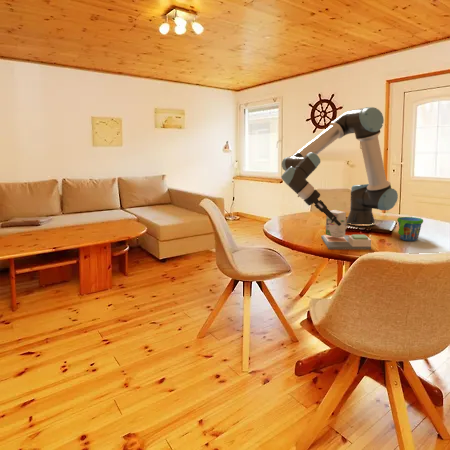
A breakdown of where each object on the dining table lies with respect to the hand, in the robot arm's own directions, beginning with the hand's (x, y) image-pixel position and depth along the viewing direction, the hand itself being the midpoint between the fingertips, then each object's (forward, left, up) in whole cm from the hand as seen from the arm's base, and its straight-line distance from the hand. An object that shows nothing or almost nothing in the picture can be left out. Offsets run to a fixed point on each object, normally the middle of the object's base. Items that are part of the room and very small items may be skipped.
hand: (342, 227), depth 169 cm
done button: (-5, +11, -4) cm, 12 cm away
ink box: (+3, 0, -4) cm, 5 cm away
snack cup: (-31, -2, -7) cm, 32 cm away
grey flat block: (0, +4, -7) cm, 8 cm away
